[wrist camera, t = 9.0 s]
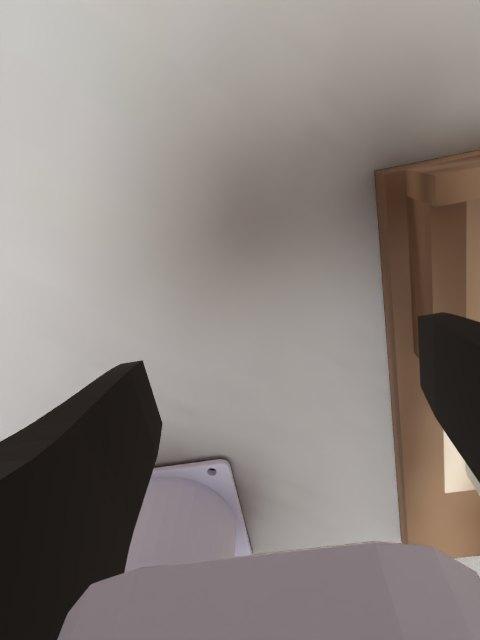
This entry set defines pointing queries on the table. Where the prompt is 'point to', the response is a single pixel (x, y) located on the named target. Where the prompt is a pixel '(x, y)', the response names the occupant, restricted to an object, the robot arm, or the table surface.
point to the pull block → (473, 480)
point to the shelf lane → (402, 336)
